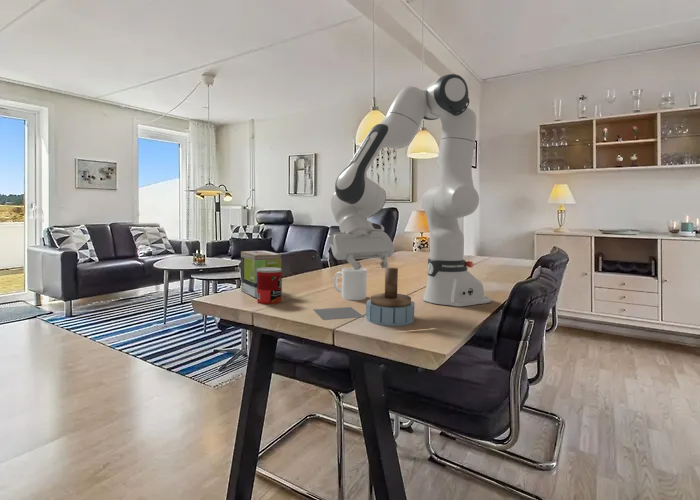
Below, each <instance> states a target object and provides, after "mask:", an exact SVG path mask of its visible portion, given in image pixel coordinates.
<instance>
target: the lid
mask: <svg viewBox="0 0 700 500" xmlns="http://www.w3.org/2000/svg"><path fill="white" fill-rule="evenodd" d="M384 269H385V271H384V272H385V273H384V293H376V294H372V295H371V296H370V299H371V303H372V304H373V305H376V306H381V307H405V306H409V305H411V301H412V297H411V296H409V295H407V294H402V293H398V279H399V278H398V277H399V276H398V275H399V274H398V273H399V268H397V267H387V268H384Z"/></svg>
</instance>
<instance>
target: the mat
mask: <svg viewBox="0 0 700 500" xmlns="http://www.w3.org/2000/svg"><path fill="white" fill-rule="evenodd" d="M313 312H314V313H316V314H317V315H318V317H320V319H321V320H323V321H328V320H340V319H342V320H344V319H355V318H365V316H364V315H363V314H361V313H360V312H359V311H357V310H355V308H353V307H351V306H347V307H345V306H344V307H332V308H330V307H329V308H318V309H317V308H315V309H313Z"/></svg>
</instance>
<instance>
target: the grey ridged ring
mask: <svg viewBox="0 0 700 500" xmlns="http://www.w3.org/2000/svg"><path fill="white" fill-rule="evenodd" d="M415 304H416V303H415V302H414V301H412V300H411V305H409V306H405V307H381V306H376V305H373V304H372V303H371V298H370V299H368V300H367V301H366V302H365V318H366V321H368V322H369V323H371V324H374V325H379V326H389V327H398V326H400V327H401V326H407V325H410V324H412V323H414V322H415V321H414V320H415V307H416V306H415Z"/></svg>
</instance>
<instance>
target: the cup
mask: <svg viewBox="0 0 700 500" xmlns="http://www.w3.org/2000/svg"><path fill="white" fill-rule="evenodd" d="M367 275H368V271H367V269H366V268H363V267H361V268H360V270H355V269H354V267H344V268H342V269H341V271H337V272H336V273H335V274H334V277H333V287H334V289H335V290H336V291H337V292H339V293H340V294H341V298H342V299H343V300H346V301H362V300H366V298H367V280H368V279H367V277H368V276H367ZM339 276H341V288H340V287H339V286H338V277H339Z"/></svg>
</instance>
